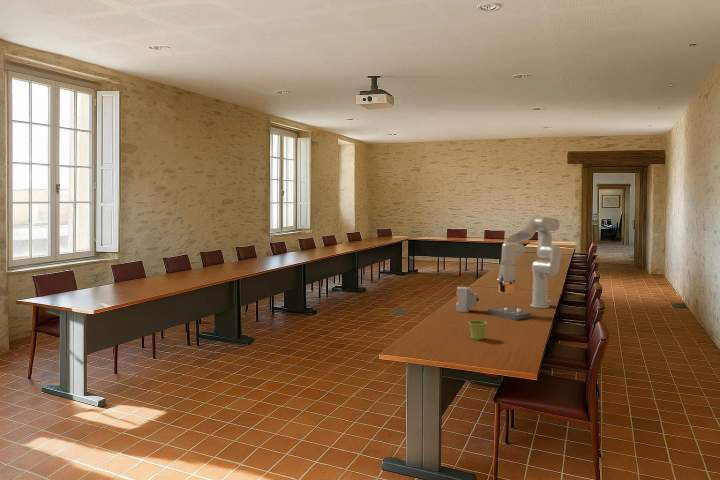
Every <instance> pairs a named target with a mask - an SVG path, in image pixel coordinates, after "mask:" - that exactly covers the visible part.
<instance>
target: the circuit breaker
mask: <svg viewBox="0 0 720 480" xmlns="http://www.w3.org/2000/svg"><path fill="white" fill-rule="evenodd" d="M455 295H456V296H457V302H455V303H456V304H455V312H459V313H462V312H463V313H469V312H470V307H471V308H472V307H473V308H474V307H475V308H476V307H477V302H478V301H479V302H480V297H479V298H478V296H477V292H470V286H457V287H456V294H455Z"/></svg>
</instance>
